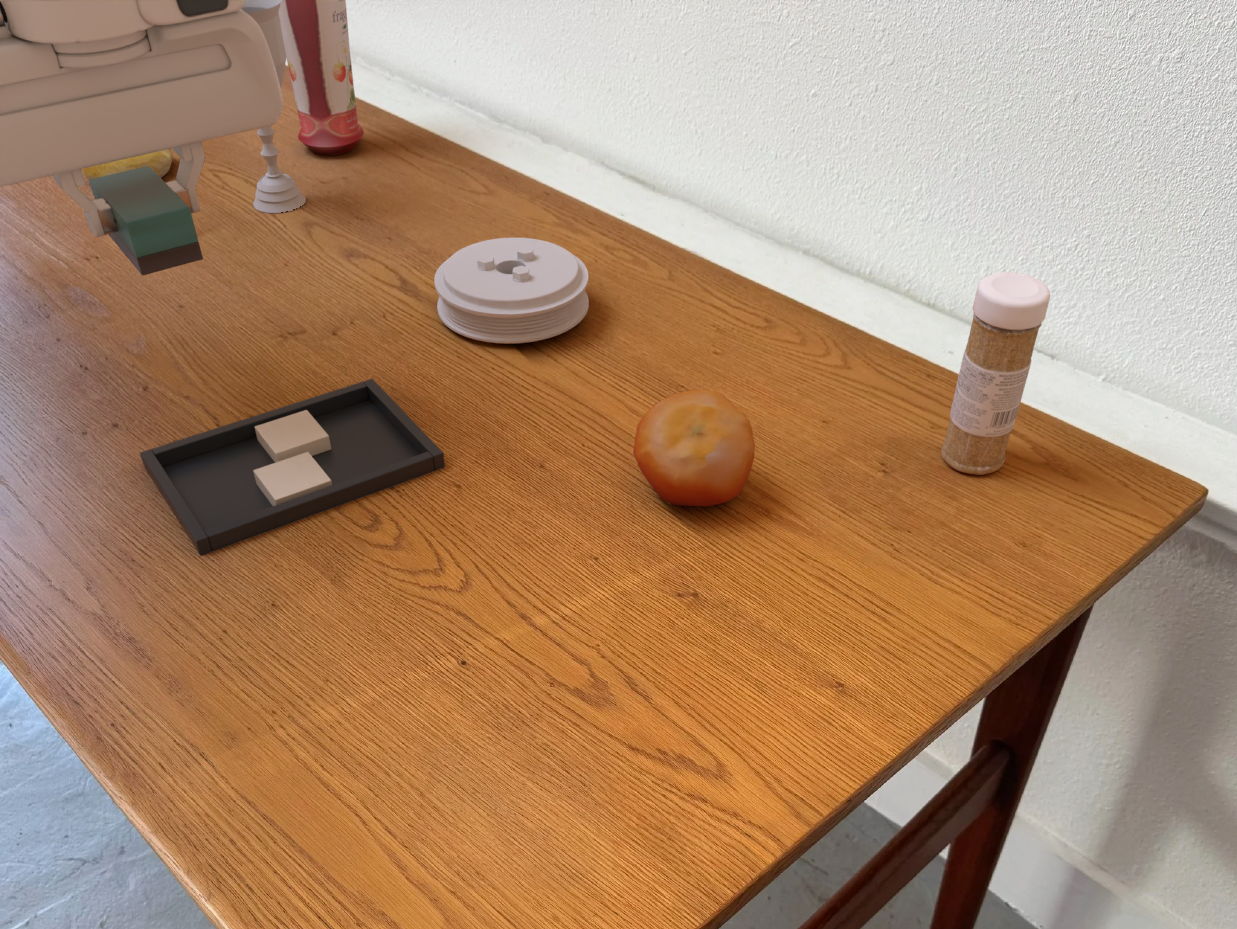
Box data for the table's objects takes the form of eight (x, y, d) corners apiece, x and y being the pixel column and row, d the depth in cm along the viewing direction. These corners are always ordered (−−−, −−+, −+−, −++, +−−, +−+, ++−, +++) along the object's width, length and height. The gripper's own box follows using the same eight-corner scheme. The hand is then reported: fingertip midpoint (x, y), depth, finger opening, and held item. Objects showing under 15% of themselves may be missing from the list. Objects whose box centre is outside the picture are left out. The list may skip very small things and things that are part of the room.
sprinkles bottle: (986, 437, 86) (1031, 266, 77) (1015, 473, 83) (1065, 299, 74) (928, 445, 86) (966, 273, 77) (955, 481, 82) (998, 306, 73)
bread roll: (80, 193, 117) (67, 152, 114) (101, 157, 123) (90, 118, 121) (165, 190, 117) (154, 150, 115) (182, 154, 124) (172, 115, 121)
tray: (202, 561, 76) (195, 540, 75) (145, 472, 83) (139, 452, 82) (445, 472, 83) (443, 452, 82) (375, 397, 90) (372, 378, 89)
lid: (531, 370, 93) (527, 312, 90) (407, 326, 98) (399, 270, 95) (617, 304, 101) (617, 249, 97) (499, 266, 106) (495, 212, 102)
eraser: (203, 259, 76) (189, 207, 74) (142, 276, 75) (126, 223, 72) (163, 215, 81) (148, 165, 79) (104, 230, 79) (88, 179, 77)
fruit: (747, 426, 85) (758, 373, 77) (747, 529, 83) (758, 486, 75) (635, 423, 85) (635, 370, 77) (632, 526, 83) (631, 483, 75)
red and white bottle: (360, 161, 123) (314, -156, 104) (291, 160, 123) (231, -157, 104) (373, 134, 128) (331, -172, 109) (306, 133, 128) (252, -173, 109)
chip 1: (278, 467, 82) (275, 453, 82) (257, 440, 85) (254, 426, 84) (331, 449, 84) (329, 435, 83) (309, 423, 87) (306, 409, 86)
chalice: (299, 181, 119) (263, -14, 107) (329, 204, 115) (295, 4, 103) (230, 199, 116) (185, 0, 104) (258, 223, 112) (215, 19, 100)
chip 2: (278, 514, 79) (275, 499, 78) (256, 484, 81) (252, 470, 80) (334, 494, 80) (331, 480, 79) (311, 465, 83) (308, 451, 82)
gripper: (-107, 36, 61) (-9, 283, 71) (267, -28, 70) (310, 200, 79) (-128, 6, 65) (-33, 244, 74) (229, -51, 73) (274, 169, 83)
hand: (146, 221), depth 77 cm, fingers closed on eraser, 4 cm apart
